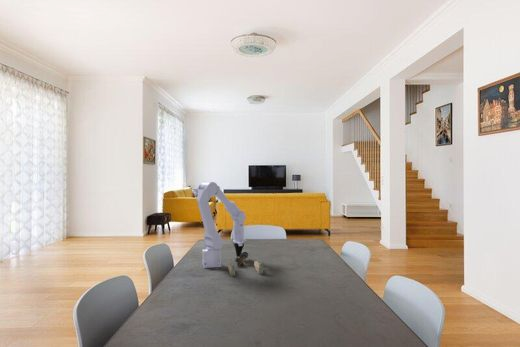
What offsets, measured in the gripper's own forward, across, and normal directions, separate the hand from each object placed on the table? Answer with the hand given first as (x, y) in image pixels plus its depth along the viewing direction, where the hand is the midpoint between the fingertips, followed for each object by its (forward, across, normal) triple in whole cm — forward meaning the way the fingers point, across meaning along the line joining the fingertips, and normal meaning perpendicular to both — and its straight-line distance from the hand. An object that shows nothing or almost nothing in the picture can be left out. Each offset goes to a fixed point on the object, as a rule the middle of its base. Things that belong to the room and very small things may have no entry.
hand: (238, 256), depth 175 cm
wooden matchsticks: (+2, -21, 0) cm, 21 cm away
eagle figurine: (+2, -10, 0) cm, 10 cm away
